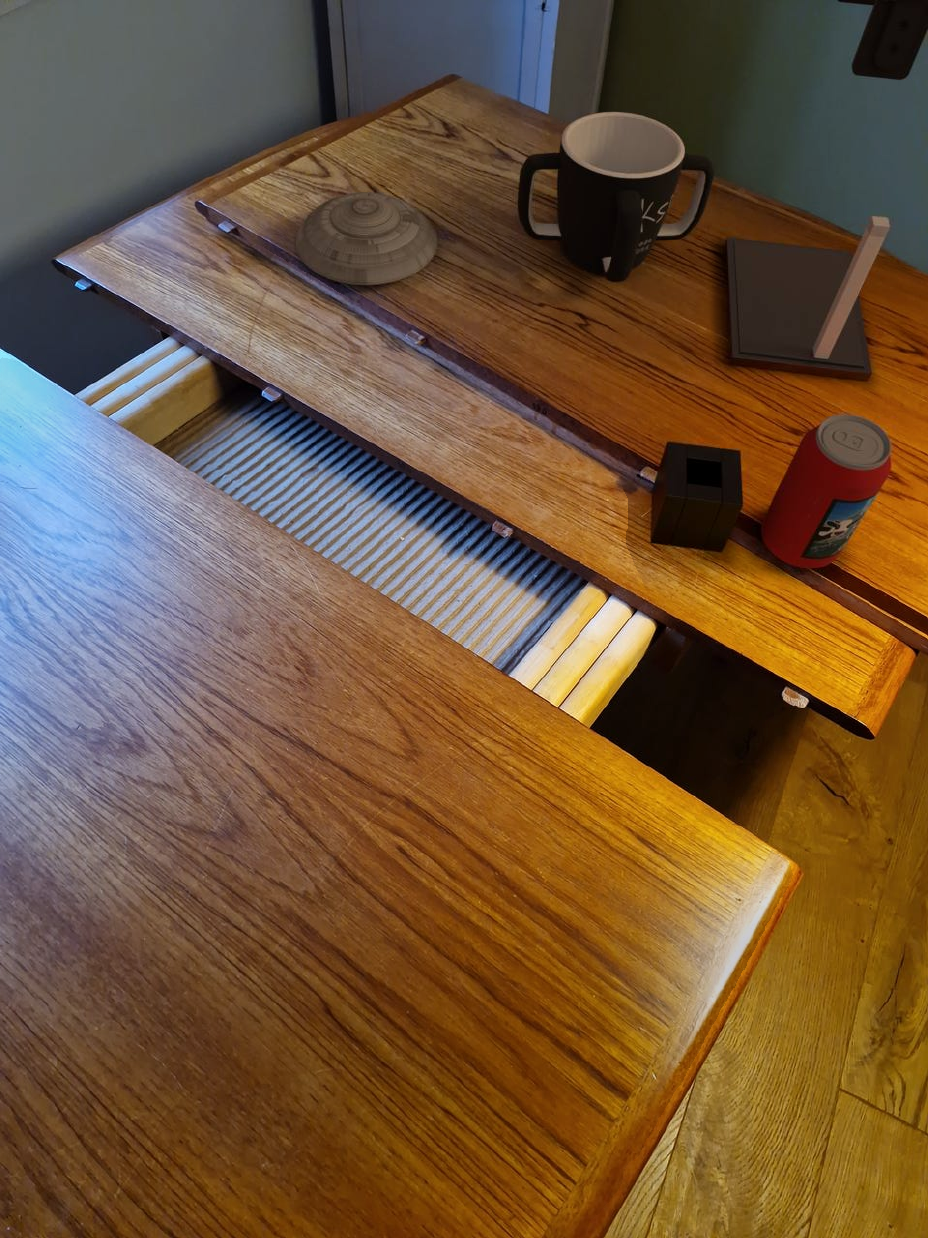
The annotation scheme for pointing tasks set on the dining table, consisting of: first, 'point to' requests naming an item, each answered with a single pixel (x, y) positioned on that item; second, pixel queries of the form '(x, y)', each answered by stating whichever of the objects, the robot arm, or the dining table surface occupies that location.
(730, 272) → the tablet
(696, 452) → the pen holder
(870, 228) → the stylus
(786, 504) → the beverage can
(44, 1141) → the dining table surface
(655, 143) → the mug
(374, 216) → the flying saucer
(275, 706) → the dining table surface
